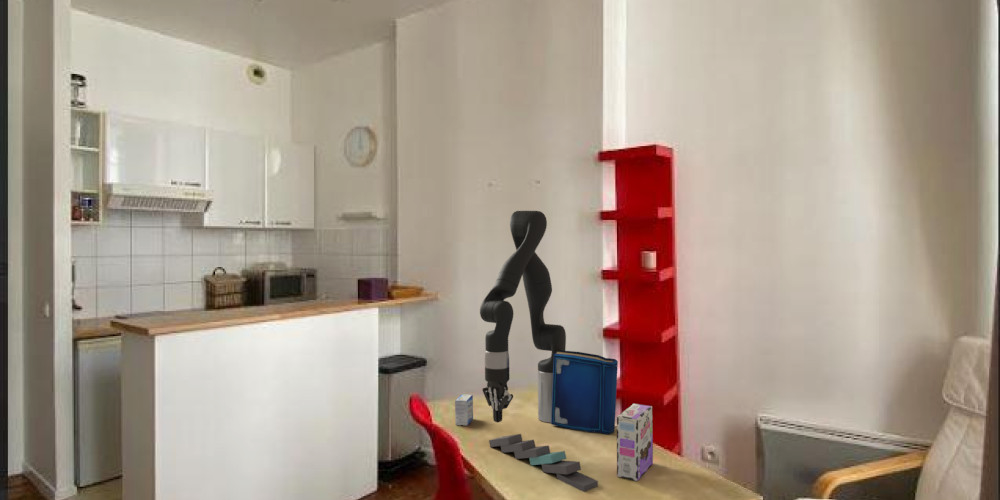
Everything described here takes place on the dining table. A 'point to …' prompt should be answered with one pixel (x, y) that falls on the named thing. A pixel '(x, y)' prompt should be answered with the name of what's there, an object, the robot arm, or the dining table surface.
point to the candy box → (634, 441)
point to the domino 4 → (548, 458)
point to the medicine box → (464, 410)
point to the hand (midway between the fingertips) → (497, 421)
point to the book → (584, 392)
